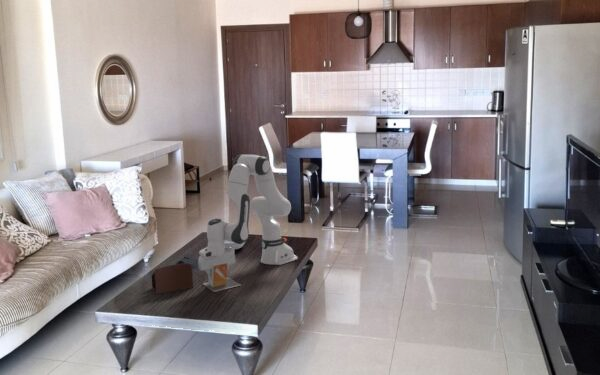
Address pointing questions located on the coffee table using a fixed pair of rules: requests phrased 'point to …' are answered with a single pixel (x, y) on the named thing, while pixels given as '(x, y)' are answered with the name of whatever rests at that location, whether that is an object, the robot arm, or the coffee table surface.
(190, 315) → the coffee table surface
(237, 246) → the serving bowl
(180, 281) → the letter holder
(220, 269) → the small box
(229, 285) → the mat
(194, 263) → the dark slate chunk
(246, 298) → the coffee table surface
